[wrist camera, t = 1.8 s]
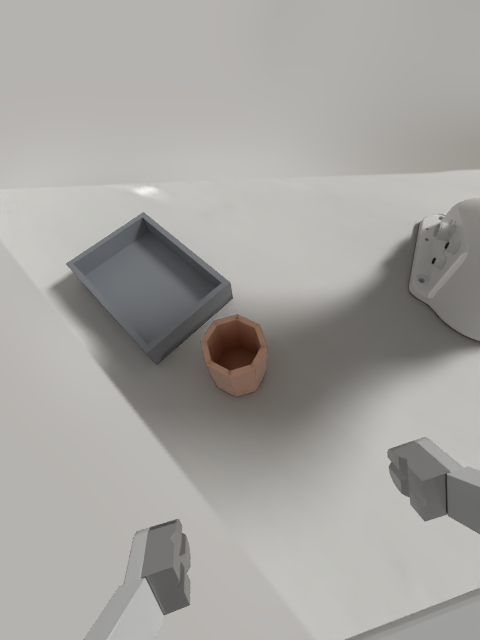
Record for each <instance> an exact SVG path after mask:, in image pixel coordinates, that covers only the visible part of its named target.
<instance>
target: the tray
mask: <svg viewBox="0 0 480 640" xmlns="http://www.w3.org/2000/svg"><path fill="white" fill-rule="evenodd" d="M66 265H67V266H68V267H69V268H70V269H71V270H72V271H73V272H74V274H75V275H76V276H77V277H78V278H79V279H80V280H81V281H82V282H83V284H84V285H85V286H86V287H87V288H88V289H89V290H90V291H91V293H92V294H93V295H94V296H95V297H96V298H97V299H98V300H99V301H100V303H101V304H102V305H103V306H104V307H105V308H106V309H107V310H108V312H109V313H110V314H111V315H112V316H113V317H114V318H115V319H116V321H117V322H118V323H119V324H120V325H121V326H122V327H123V328H124V329H125V331H126V332H127V333H128V334H129V335H130V336H131V337H132V338H133V340H134V341H135V342H136V343H137V344H138V345H139V346H140V347H141V348H142V350H143V351H144V352H145V353H146V354H147V355H148V356H149V357H150V358H151V359H152V360H153V361H154V362H155V363H156V364H158V363H159V362H160V361H161V360H163V359H164V358H165V357H166V356H167V355H168V354H169V353H171V352H172V351H173V350H174V349H175V348H176V347H178V346H179V345H180V344H181V343H182V342H183V341H184V340H186V339H187V338H188V337H189V336H190V335H191V334H192V333H194V332H195V331H196V330H197V329H198V328H199V327H200V326H202V325H203V324H204V323H205V322H206V321H207V320H209V319H210V318H211V317H212V316H213V315H214V314H215V313H217V312H218V311H219V310H220V309H221V308H222V307H223V306H225V305H226V304H227V303H228V302H229V301H230V300H231V299H233V297H232V290H231V284H230V282H229V281H228V280H227V279H225V278H224V277H223V276H222V275H220V274H219V273H218V272H217V271H215V270H214V269H213V268H212V267H211V266H209V265H208V264H207V263H206V262H204V261H203V260H202V259H201V258H199V257H198V256H197V255H196V254H194V253H193V252H192V251H191V250H190V249H188V248H187V247H186V246H185V245H183V244H182V243H181V242H180V241H178V240H177V239H176V238H175V237H173V236H172V235H171V234H170V233H169V232H167V231H166V230H165V229H164V228H162V227H161V226H160V225H159V224H157V223H156V222H155V221H154V220H153V219H151V218H150V217H149V216H148V215H146V214H145V213H144V212H143V213H142V214H140V215H139V216H137V217H136V218H134V219H133V220H131V221H130V222H128V223H127V224H125V225H124V226H122V227H121V228H119V229H117V230H116V231H114V232H113V233H111V234H110V235H108V236H107V237H105V238H104V239H102V240H101V241H99V242H98V243H96V244H95V245H93V246H92V247H90V248H89V249H87V250H86V251H84V252H83V253H81V254H80V255H78V256H77V257H75V258H74V259H72V260H71V261H69V262H68V263H66Z"/></svg>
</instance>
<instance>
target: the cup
mask: <svg viewBox="0 0 480 640" xmlns="http://www.w3.org/2000/svg"><path fill="white" fill-rule="evenodd" d="M200 342H201V346H202V350H203V354H204V359H205V363H206V366H207V368H208V370H209V372H210V373H211V375H212V377H213V379H214V381H215V383H216V385H217V387H219V388H220V389H222V390H224V391H226V392H228V393H229V394H231V395H233V396H235V397H237V396H240V395H244V394H247V393H250V392H254V391H256V390H257V388H258V386H259V385H260V383H261V381H262V379H263V377H264V375H265V373H266V363H267V348H268V347H267V344H266V341H265V338H264V335H263V333H262V330H261V327H260V325H259V324H257V323H255V322H253V321H251V320H249V319H247V318H244V317H242V316H240V315H234V316H230V317H226V318H223V319H219V320H216V321H213V323H212V324H211V326H210V327H209V329H208V331H207V332H206V334H205V335H204V337H203V338H202V340H201V341H200Z"/></svg>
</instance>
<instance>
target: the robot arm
mask: <svg viewBox="0 0 480 640" xmlns="http://www.w3.org/2000/svg"><path fill="white" fill-rule="evenodd" d="M419 281H421V282H422V283H421V282H419ZM409 291H410V292H411V293H412V294H413V295H414V296H415V297H417V298H418V299H420V300H421V301H423V302H425V303H427V304H428V305H429V306H430V307H431V308H432V309H433V310H434V311H435V312H436V313H437V314H438V316H439V317H440V318H441V319H442V320H443V321H444V322H446V323H447V324H448V325H449V326H451V327H452V328H453V329H455V330H456V331H458V332H460V333H461V334H463V335H465V336H467V337H470V338H472V339H475V340H478V341H480V198H473V199H468V200H464V201H462V202H460V203H458V204H456V205H455V206H453V207H452V208H451V209H450V211H449V212H448V213H441V214H435V215H431V216H428V217H425V218H424V219H423V220H422V221H421V222H420V225H419V231H418V236H417V242H416V248H415V254H414V259H413V265H412V271H411V277H410V283H409ZM387 453H388V458H389V459H390V460H391V464H390V466H389V471H390V475H391V478H392V480H393V482H394V484H395V486H396V487H397V489H398V490H399V491H400V492H401V493H402V494H403V495H405V496H408V497H410V504H411V506H412V507H413V508H414V509H415V510H416V512H417V513H418V514H419V515H420V516H421V518H422V519H423V520H424V521H428V520H431V519H434V518H438V517H441V516H444V515H447V514H448V516H449V517H451V518H453V519H454V520H456V521H458V522H460V523H461V524H463V525H465V526H467V527H468V528H470V529H472V530H473V531H475V532H477V533H479V534H480V471H479V470H476V469H473V468H470V467H465V468H464V467H463V466H461V465H460V464H459V463H458V462H457V461H455V460H454V459H453V458H452V457H450V456H449V455H448V454H447V453H446V452H444V451H443V450H442V449H441V448H440V447H438V446H437V445H436V444H435V443H433V442H432V441H431V440H430V439H429V438H426V437H423V438H420V439H417V440H414V441H411V442H408V443H405V444H402V445H399V446H396V447H393V448H390V449H388V452H387ZM189 568H190V548H189V543H188V540H187V537H186V535H185V534H183V533H182V525H181V523H180V520H179V519H176V520H173V521H169V522H167V523H163V524H159V525H156V526H153V527H150V528H147V529H143V530H140V531H137V532H136V533H135V535H134V537H133V542H132V547H131V552H130V556H129V561H128V566H127V571H126V575H125V580H124V585H122V586H119V587H118V589H117V590H116V592H115V593H114V595H113V596H112V598H111V599H110V601H109V602H108V604H107V605H106V607H105V608H104V610H103V611H102V613H101V614H100V616H99V617H98V619H97V620H96V622H95V623H94V625H93V627H92V628H91V629H90V631H89V632H88V634H87V635H86V637H85V638H84V640H155V638H156V636H157V634H158V631H159V629H160V626H161V624H162V622H163V620H164V615H166V614H169V613H171V612H174V611H176V610H179V609H181V608H184V607H186V606H189V605H190V579H189V577H188V575H187V572H188V570H189ZM345 640H480V588H478V589H476V590H473V591H470V592H468V593H465V594H463V595H460V596H457V597H455V598H452V599H450V600H447V601H444V602H442V603H439V604H437V605H434V606H431V607H429V608H426V609H423V610H421V611H418V612H416V613H413V614H410V615H408V616H405V617H403V618H400V619H397V620H395V621H392V622H389V623H387V624H384V625H382V626H379V627H376V628H374V629H371V630H369V631H366V632H363V633H361V634H358V635H356V636H353V637H350V638H348V639H345Z"/></svg>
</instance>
